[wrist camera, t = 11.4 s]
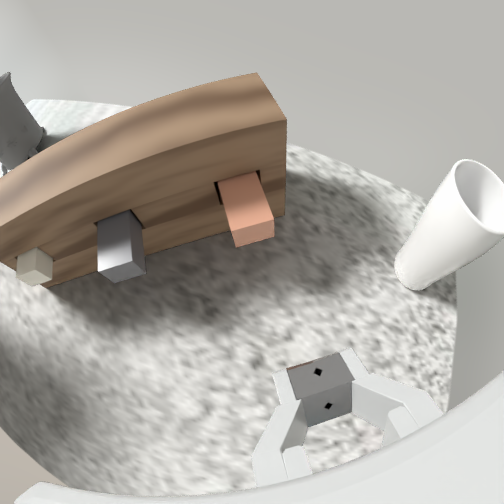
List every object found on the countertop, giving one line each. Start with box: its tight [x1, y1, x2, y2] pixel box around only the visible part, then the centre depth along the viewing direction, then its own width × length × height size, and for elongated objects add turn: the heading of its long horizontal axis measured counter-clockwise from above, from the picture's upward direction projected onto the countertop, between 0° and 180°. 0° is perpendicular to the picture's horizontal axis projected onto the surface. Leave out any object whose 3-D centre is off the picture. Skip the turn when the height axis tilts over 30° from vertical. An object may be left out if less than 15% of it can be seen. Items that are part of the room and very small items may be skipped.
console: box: [0, 73, 287, 288], centre depth 27 cm, size 8×33×14 cm, turn 106°
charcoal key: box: [97, 209, 147, 283], centre depth 24 cm, size 6×4×3 cm, turn 16°
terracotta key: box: [217, 171, 274, 247], centre depth 25 cm, size 6×4×3 cm, turn 16°
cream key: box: [16, 247, 53, 287], centre depth 25 cm, size 6×4×3 cm, turn 16°
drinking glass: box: [394, 159, 504, 290], centre depth 22 cm, size 7×7×15 cm
